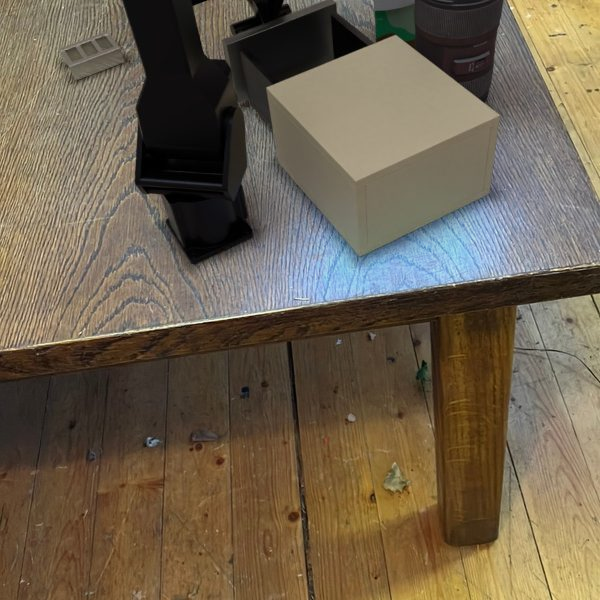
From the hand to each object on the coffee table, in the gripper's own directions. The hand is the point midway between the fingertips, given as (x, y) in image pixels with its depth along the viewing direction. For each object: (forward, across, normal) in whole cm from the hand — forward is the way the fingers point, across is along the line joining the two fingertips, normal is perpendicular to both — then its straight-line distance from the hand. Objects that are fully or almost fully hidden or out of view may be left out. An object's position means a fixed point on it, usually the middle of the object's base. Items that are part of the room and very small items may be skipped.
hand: (268, 30), depth 80 cm
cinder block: (+5, +17, -16) cm, 24 cm away
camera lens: (+5, -12, +18) cm, 22 cm away
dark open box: (+4, 0, +8) cm, 9 cm away
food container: (+5, -15, +5) cm, 17 cm away
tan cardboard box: (+5, 0, +22) cm, 23 cm away
